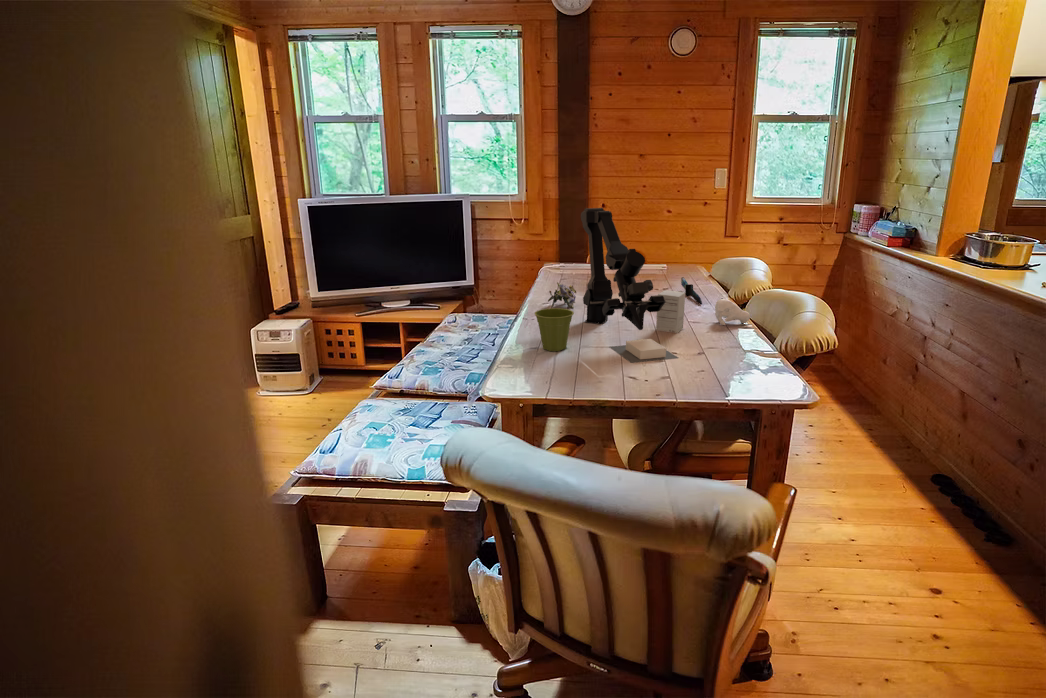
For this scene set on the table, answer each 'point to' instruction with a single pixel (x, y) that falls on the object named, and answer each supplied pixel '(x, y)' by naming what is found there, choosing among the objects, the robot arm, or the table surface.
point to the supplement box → (671, 312)
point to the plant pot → (554, 327)
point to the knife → (690, 290)
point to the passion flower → (564, 295)
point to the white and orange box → (645, 349)
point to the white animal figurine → (730, 312)
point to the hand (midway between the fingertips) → (641, 329)
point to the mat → (633, 359)
